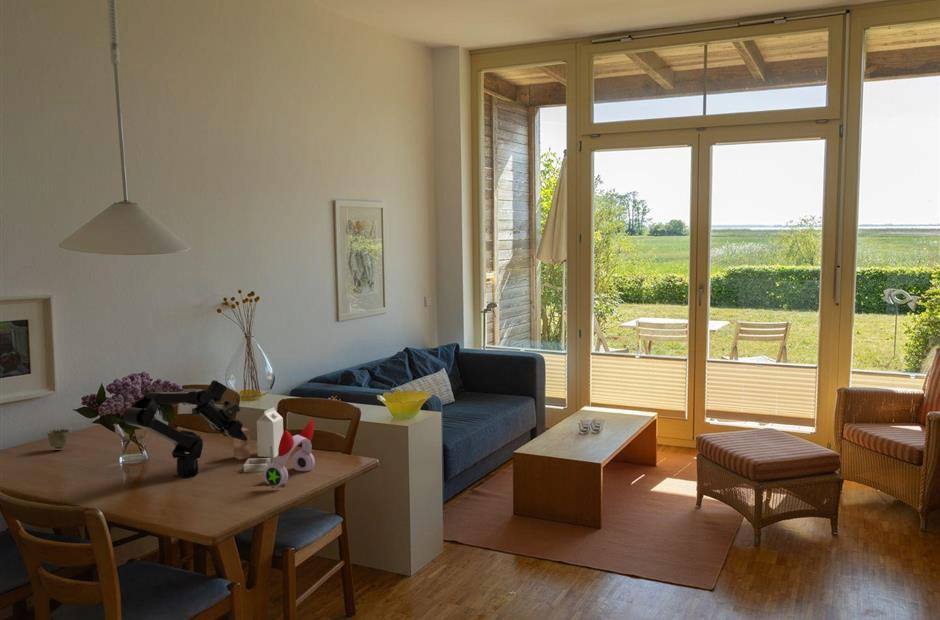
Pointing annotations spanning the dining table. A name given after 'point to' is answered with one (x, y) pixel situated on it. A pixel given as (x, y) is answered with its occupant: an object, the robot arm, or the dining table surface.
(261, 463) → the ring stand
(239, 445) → the peg
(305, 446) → the headphones
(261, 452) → the milk carton
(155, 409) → the robot arm
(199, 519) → the dining table surface
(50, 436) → the cup
